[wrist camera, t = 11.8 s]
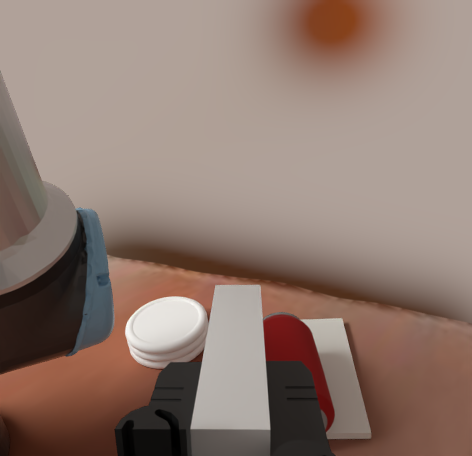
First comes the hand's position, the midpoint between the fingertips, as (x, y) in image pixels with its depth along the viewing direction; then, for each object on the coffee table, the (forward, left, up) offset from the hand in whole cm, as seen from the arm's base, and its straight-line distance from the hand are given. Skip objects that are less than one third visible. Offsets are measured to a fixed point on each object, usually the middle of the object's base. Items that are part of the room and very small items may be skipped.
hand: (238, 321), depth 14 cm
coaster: (-27, +17, -27) cm, 41 cm away
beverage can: (-5, +12, -22) cm, 26 cm away
